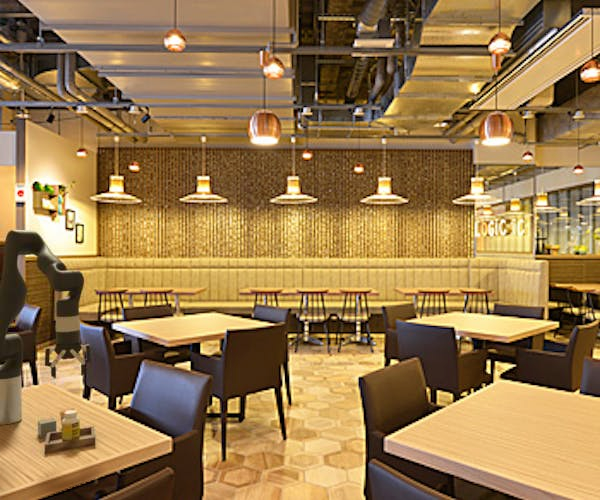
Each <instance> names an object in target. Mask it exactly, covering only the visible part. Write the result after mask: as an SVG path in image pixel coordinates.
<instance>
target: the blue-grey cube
mask: <svg viewBox="0 0 600 500" xmlns="http://www.w3.org/2000/svg"><path fill="white" fill-rule="evenodd" d="M56 431H58V430H57V420H56V418H54V417H48V418H44V419H43V418H42V419H39V420H37V435H38V436H39V438H40V439H43V438H46V436H47V433H49V432H56Z"/></svg>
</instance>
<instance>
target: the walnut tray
mask: <svg viewBox="0 0 600 500" xmlns="http://www.w3.org/2000/svg"><path fill="white" fill-rule="evenodd" d="M95 428H96V427H95V425H92V426H85V427H80V439H74V440H67V441H62V430H57V431H56V432H49V433H47V436H46V437H45V441H44V454H46V455H47V454H52V453H57V452H62V451H63V452H64V451H65V452H66V451H71V450H76V449H83V448H89V447H95V446H96V435H95V430H96V429H95Z"/></svg>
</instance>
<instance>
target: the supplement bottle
mask: <svg viewBox="0 0 600 500" xmlns="http://www.w3.org/2000/svg"><path fill="white" fill-rule="evenodd" d="M64 417H65V418H64V419H63V420H62V425H61V431H62V441H67V440H74V439H80V428H81V427H80V424H81V423H80V417H78V410H76V409H75V410H70V411H66V412H65V413H64Z"/></svg>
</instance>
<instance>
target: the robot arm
mask: <svg viewBox="0 0 600 500" xmlns="http://www.w3.org/2000/svg"><path fill="white" fill-rule="evenodd" d="M31 255H34V256H36V266H37V269H38V270H39V271H40V272H41V273H42V274H43V275H44V276H45V277H46V278H47V281H48V282H49V286H50V288H51V289H52V290H53V291H55V292H60V293H63V292H68V294H67V296H65V297H62V298H60V299H57V301H56V306H55V307H56V308H55V313H56V315H55V317H56V319H55V347H50V346H47V347H46V348H45V355H44V366H45V367H50V376H51V378H52V377H53V379H56V378H57V366H56V365H57V364H58V363H59V361H60V360H68V359H69V360H72V359H73V360H74V359H76V360H77V361H78V362H79V363H80V376H84V374H86V364H88V363H91V361H92V354H91V345H90V344H89V343H87V344H84V345H83V344H81V320H80V300H81V297H82V293H83V289H84V285H85V277H84V275H83V273H82V272H81V271H80V270H71V269H70V270H67V266H66V264H65V263H64V262H63V261H61V260H60V259H59V258H58V257H57V256H56V255H55V254H54V253H53V252H52V251H51V249H50V247H49V246H48V245H47V243H46V241H45V240H44V239H43V237H42V236H41V235H40V233H38V232H37V231H35V230H25V229H11V230H9V231H8V232H7V235H6V237H5V241H4V252H3V268H2V274H1V280H0V361H3V360H5V362H4V363H3V364H2V365H1V366H0V426H1V425H9V424H13V423H17V422H20V421H22V419H23V406H22V405H23V401H22V400H23V399H22V398H23V397H22V369H23V365H24V363H23V362H24V361H23V357H24V356H23V355H24V343H23V339H22V337H21V336H20V335H19V334H18V333H10V334H8V333H7V332H8V330H9V327H11V324H13V322H14V320H15V319H16V318H17V317H18V315H20V313H21V312H22V311H23V309H24V307H25V304H26V301H27V296H28V295H27V294H28V286H27V283H26V281H25V279H24V277H23V276H22V274H21V271H20V270H19V266H18V265H19V264H18V262H19V261H18V259H19V256H31ZM81 350H83V351H84V352H86V358H83V356H82V355H81V354H80V352H81ZM53 352H54V353H55V354H56V355H57V356H56V357H55V358H54V359H53V361H50V358H51V357H50V356H51V355H52V354H53Z"/></svg>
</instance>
